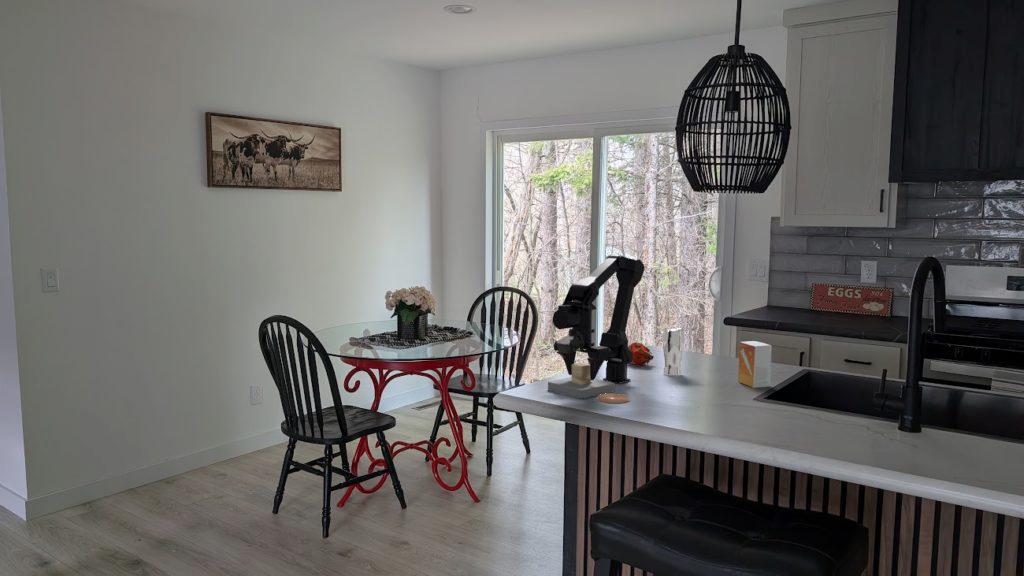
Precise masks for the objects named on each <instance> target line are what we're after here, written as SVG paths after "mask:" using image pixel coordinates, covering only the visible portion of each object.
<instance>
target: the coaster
mask: <svg viewBox="0 0 1024 576" xmlns="http://www.w3.org/2000/svg"><path fill="white" fill-rule="evenodd" d="M597 400H598V401H599V400H600V401H599V402H602V401H603V402H602V403H607V404H625V403H628V402H629V401H630V396H628V395H626V394H622V393H615V392H610V393H606V394H601V395H597Z"/></svg>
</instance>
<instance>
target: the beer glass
mask: <svg viewBox="0 0 1024 576" xmlns="http://www.w3.org/2000/svg"><path fill="white" fill-rule="evenodd" d="M685 339H686V338H685V329H684V328H679V327H666V328H664V329H663V336H662V349H663V357H664V370H663V375H664V374H665V376H668V377H680V376H683V369H682V361H683V355H684V351H685Z"/></svg>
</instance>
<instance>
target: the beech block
mask: <svg viewBox="0 0 1024 576" xmlns="http://www.w3.org/2000/svg"><path fill="white" fill-rule="evenodd" d="M571 377H572V383H574V384H578V385H585V384H590V383H591V378H590V363H585V362H578V363H574V364H572V375H571Z"/></svg>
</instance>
